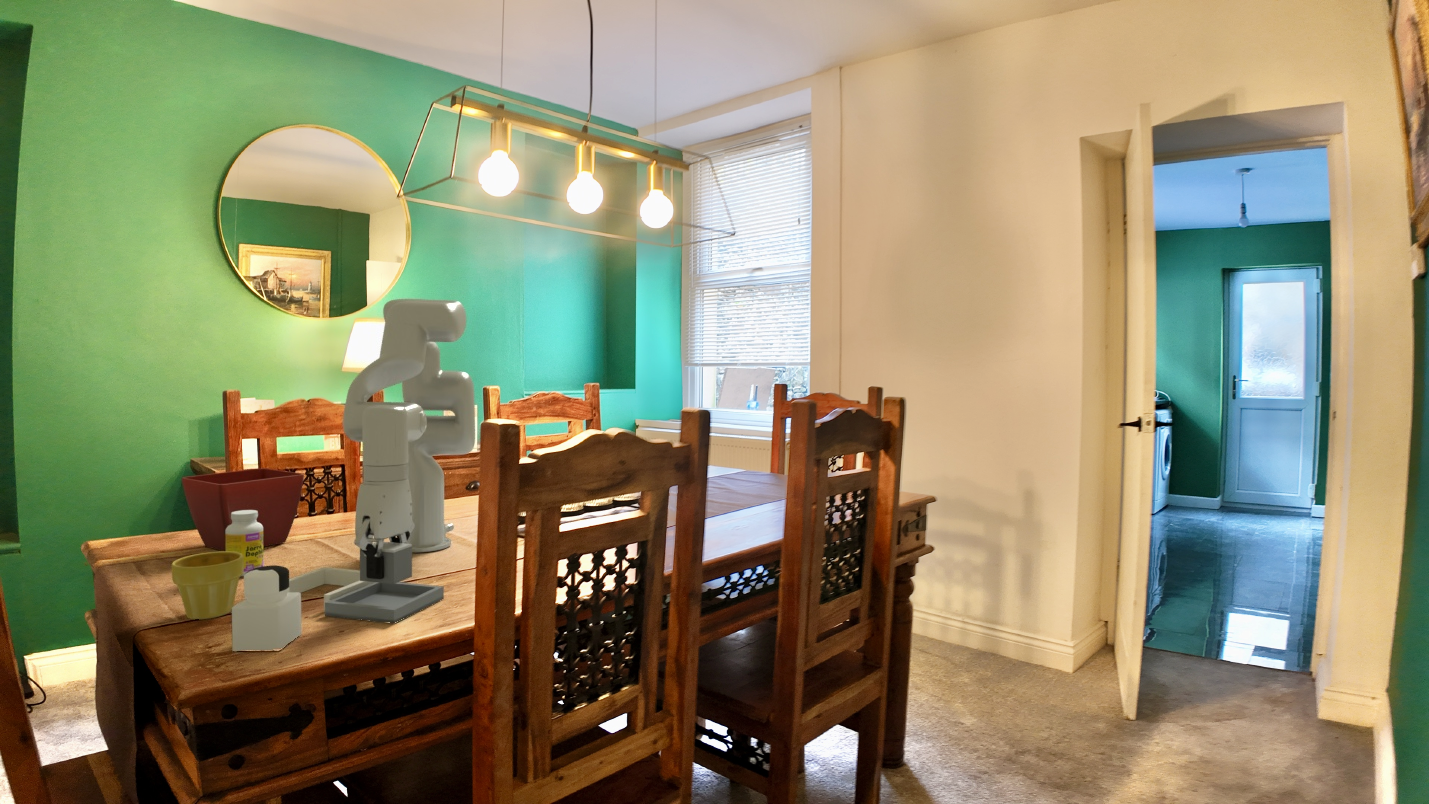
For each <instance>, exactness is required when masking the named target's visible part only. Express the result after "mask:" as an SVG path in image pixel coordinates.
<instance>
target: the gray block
mask: <svg viewBox="0 0 1429 804" xmlns="http://www.w3.org/2000/svg"><path fill="white" fill-rule="evenodd" d="M372 545H373V546H374V547H375V548H376V542H373V543H372ZM381 556H384V578H383V579H371V578H367V576H366V556H364V552H363V551H362V550H361V549H360V548H359V570H360V581H368V582H378V583H388V584H395V583H398V582H403V581H404V580H407V579H409V578H412V577H413V552H412V544H406V543H394V542H390V541H384V543H383V548H382V554H381Z"/></svg>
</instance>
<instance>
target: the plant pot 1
mask: <svg viewBox="0 0 1429 804" xmlns="http://www.w3.org/2000/svg"><path fill="white" fill-rule="evenodd" d="M304 477H305V474H304V473H300V472H293V471H286V470H281V469H279V470H278V469H274V468H267V467H266V468H263V467H261V468H254V469H243V470H241V469H240V470H234V471H233V470H232V471H225V472H218V473H217V472H214V473H207V474H206V473H205V474H200V475H199V474H198V475H190V476H183V477H181V483H182V487H183V491H184V495H185V499H186V503H187V506H188V509H189V512H190V516H191V518H192V520H193V523H194V525H195V527H196V530H197V532H198V535H199V536H200V538H201V541H202V543H203V546H204V547H206V548H209V549H210V548H211V549H214V550H218V551H226V536H225V532H226V528H227V527H228V526H229V525H231V524H232V519H231V513H232V512H235V511H241V510H256V511H258V517H257V519H256V520H257V522H258V523H260V524H262V526H263V548H264V547H269V546H274V545H280V544H283V543H286V542H287V539H288V537H289V535H290V532H291V529H292V526H293V525H294V524H293V523H294V521H295V518H296V516H297V512H298V507H299V504H300V500H301V495H302V490H303V484H304Z"/></svg>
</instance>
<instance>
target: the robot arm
mask: <svg viewBox="0 0 1429 804" xmlns="http://www.w3.org/2000/svg"><path fill="white" fill-rule="evenodd" d="M382 313H383V314H382V316H383V319H384V326H383V327H384V328H383V334H382V339H381V345H380V351H379V352H380V353H379V357H378V358H377V359H375V360H374V361H373V362H371V363H370V364H368V365H366V367H365V368H363V369H362V370H361V371H360V372H358V375H357V376H355V378H354V379H353V380H352V382H351V383H350V385H349V387H348V390H347V394H346V399H345V403H344V409H343V413H342V414H343V415H342V428H343V429H342V430H343V432H344V434H345V436H346V437H347V438H348V439H350V440H351V441H353V442H357V443H362V483H360V484H359V488H358V491H357V497H356V498H357V499H356V507H355V524H354V532H355V533H354V534H355V539H354V542H353V543H354V545H355V546H356V547H358V548H359V550H360V549H361V550H362V551H363V552H364V556H366V576H367V578H371V579H383V578H384V556H381V554H382V548H383V543H384V542H385V540H386V539H388V540H389V542H394V543H406V544H412V553H427V552H429V553H430V552H436V551H439V550H445V549H446V548H449V547H451V545H452V539H451V538H449V537H446V534H447V533H449V532H452V531H453V530H454V529H455V526H454V524H453V523H447V524H445V475H444V473H445V472H444V471H443V468H442V467H441V465H440V464H439V463H438V462H437V460H436V459H435V458H434V457H433V456H461V455H462V456H463V455H467V454H469V453H471V452H472V451H473V450H474V448H475V443H476V419H475V417H476V413H475V412H476V411H475V388H474V387H475V386H474V382H473V379H472V377H471V375H469V373H468V372H465V371H461V370H443V369H442V368H441V351H440V348H439V346H438V344H437V343H455V342H457V341H458V340H459V339H460V338H462V336H463V335H464V333H465V330H466V326H467V314H466V309H465V307H464V305H463V303H461V302H460V301H458V300H453V299H452V300H451V299H450V300H447V299H446V300H445V299H425V298H423V299H422V298H395V299H391V300H389V301H387V302H386V303H384V306H383V309H382ZM397 384H401V387H402V389H401V390H402V391H401V392H402V400H403V401H401V402H396V401H393V402H391V401H368V400H369V399H370V398H371V397H372V396H373V395H375V394H377V393H379V392H380V391H382V390H384V389H387V388H390V387H392V386H395V385H397ZM425 411H427V412H428V411H429V412H437V411H438V412H441V411H442V412H443V411H444V412H447V411H448V412H449V411H450V412H452V413H453V414H454V415H438V414H433V415H431V414H430V415H429V414H428V415H427V413H426V412H425ZM375 542H376V548H375V547H374V546H373V545H372V543H375Z"/></svg>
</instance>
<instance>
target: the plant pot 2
mask: <svg viewBox="0 0 1429 804" xmlns="http://www.w3.org/2000/svg"><path fill="white" fill-rule="evenodd" d="M243 572H244V558H243V554H241V553H239V552H232V551H221V550H218V551H209V552H201V553H196V554H192V555H191V554H190V555H186V556H183V557H181V558H177V559H176V560H174V561H172V563H171V579H172V583H173V584H174V585H176V586H177V588H178V591H179V594H180V598H181V601H182V604H183V608H184V611H185V615H186V617H187V619H190V620H195V619H199V621H200V620H208V619H215V618H219V617H222V616H226V615H228V614H229V613H232V612H231V609H232V607H233V606H235V605H234V604H235V599H236V595H237V594H236V593H237V590H238V584H239V580H240V578H241V577H240V576H241V575H242V574H243Z"/></svg>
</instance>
